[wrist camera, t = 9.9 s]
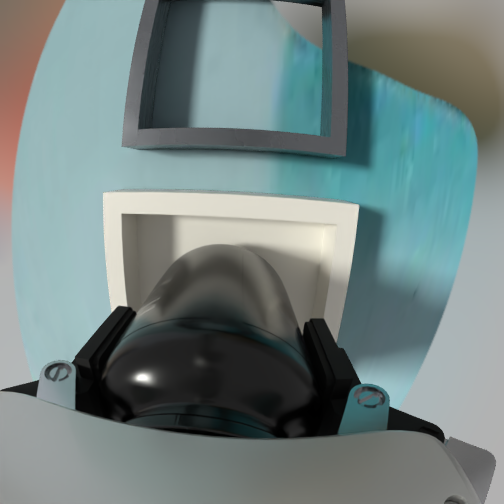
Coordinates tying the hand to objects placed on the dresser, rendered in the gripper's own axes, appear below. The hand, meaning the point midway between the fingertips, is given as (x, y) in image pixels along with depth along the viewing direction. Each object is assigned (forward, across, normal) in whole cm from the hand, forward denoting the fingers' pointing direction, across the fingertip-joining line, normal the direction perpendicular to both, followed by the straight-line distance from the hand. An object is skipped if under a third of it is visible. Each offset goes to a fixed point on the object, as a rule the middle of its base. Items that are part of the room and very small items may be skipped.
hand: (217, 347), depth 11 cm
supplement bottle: (+4, 0, 0) cm, 4 cm away
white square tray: (+5, 0, 0) cm, 5 cm away
